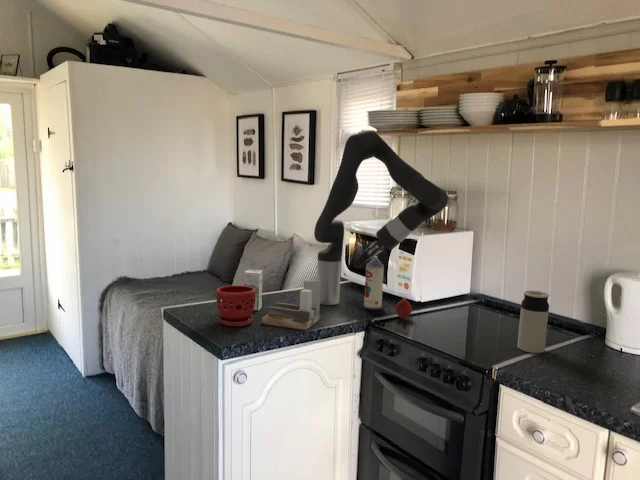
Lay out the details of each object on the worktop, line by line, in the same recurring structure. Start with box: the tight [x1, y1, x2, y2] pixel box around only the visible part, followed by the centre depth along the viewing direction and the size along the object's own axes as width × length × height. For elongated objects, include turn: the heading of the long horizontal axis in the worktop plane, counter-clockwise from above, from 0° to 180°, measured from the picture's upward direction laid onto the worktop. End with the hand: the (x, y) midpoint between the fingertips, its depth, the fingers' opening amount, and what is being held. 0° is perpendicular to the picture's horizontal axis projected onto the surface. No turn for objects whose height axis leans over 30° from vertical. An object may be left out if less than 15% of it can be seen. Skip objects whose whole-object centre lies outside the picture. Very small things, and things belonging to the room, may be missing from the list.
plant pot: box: [215, 285, 256, 327], centre depth 182 cm, size 13×13×12 cm
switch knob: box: [299, 288, 315, 319], centre depth 185 cm, size 4×5×9 cm
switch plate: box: [261, 301, 321, 331], centre depth 187 cm, size 14×16×5 cm
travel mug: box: [516, 290, 550, 354], centre depth 167 cm, size 8×8×18 cm
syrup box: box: [243, 269, 263, 312], centre depth 200 cm, size 6×6×14 cm
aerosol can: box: [363, 255, 385, 310], centre depth 209 cm, size 7×7×20 cm
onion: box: [394, 297, 413, 320], centre depth 195 cm, size 6×6×8 cm
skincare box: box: [303, 278, 321, 314], centre depth 199 cm, size 6×4×12 cm
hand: (355, 265), depth 177 cm, fingers closed
